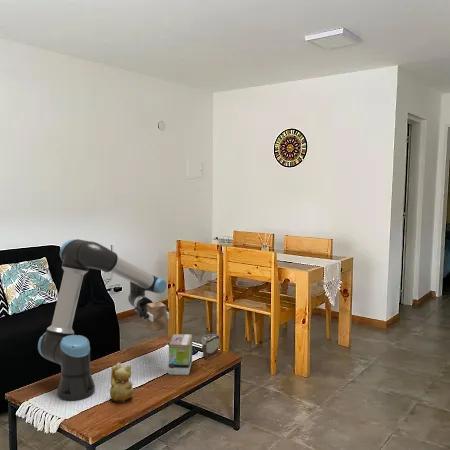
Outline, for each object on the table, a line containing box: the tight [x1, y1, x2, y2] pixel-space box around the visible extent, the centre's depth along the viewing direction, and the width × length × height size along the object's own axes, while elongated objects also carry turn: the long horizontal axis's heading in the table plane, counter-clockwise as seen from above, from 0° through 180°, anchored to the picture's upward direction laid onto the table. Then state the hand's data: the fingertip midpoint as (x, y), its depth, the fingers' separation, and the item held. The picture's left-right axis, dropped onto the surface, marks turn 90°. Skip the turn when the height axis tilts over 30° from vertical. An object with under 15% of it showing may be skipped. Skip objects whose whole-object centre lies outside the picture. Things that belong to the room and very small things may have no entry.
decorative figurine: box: [109, 362, 134, 403], centre depth 192 cm, size 10×8×15 cm
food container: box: [200, 333, 221, 360], centre depth 241 cm, size 12×6×10 cm, turn 144°
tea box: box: [167, 333, 193, 376], centre depth 224 cm, size 15×10×15 cm
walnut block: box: [146, 301, 168, 332], centre depth 217 cm, size 7×7×11 cm
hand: (160, 317), depth 213 cm, fingers closed on walnut block, 7 cm apart
